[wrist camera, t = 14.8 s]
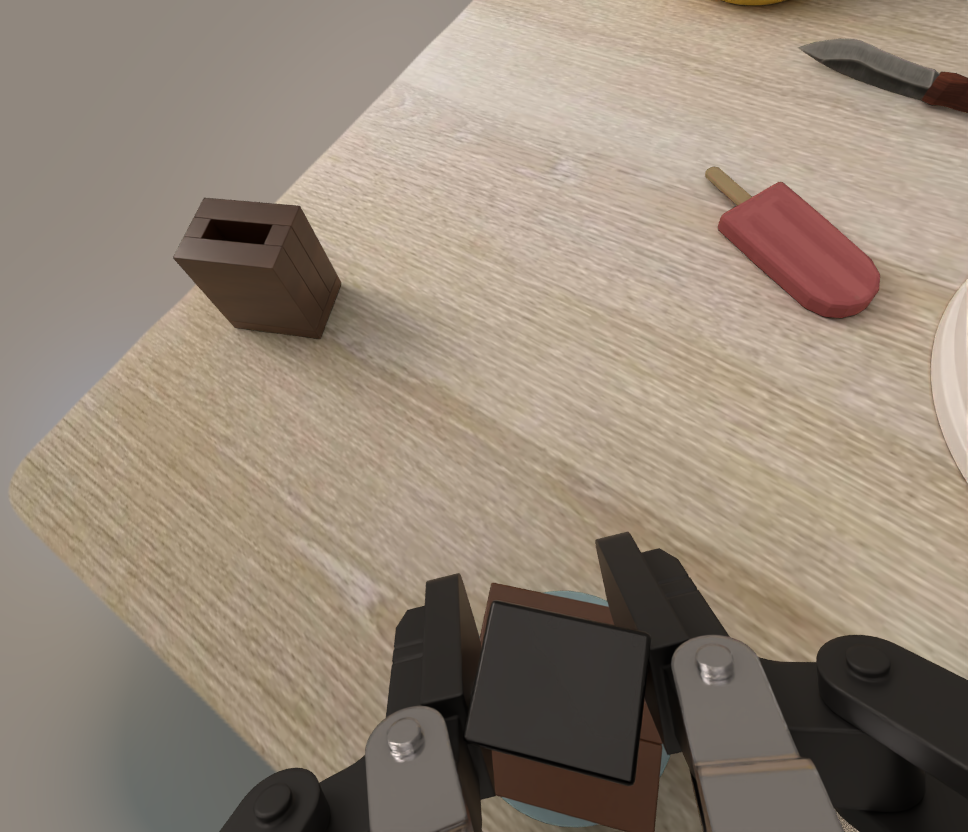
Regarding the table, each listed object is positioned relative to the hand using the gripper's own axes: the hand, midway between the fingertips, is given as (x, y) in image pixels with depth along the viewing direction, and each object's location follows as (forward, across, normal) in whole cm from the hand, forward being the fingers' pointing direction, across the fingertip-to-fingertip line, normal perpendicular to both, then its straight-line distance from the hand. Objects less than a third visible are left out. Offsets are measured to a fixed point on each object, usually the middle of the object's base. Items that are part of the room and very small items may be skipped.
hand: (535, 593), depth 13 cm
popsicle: (+32, -22, 0) cm, 39 cm away
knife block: (+36, +13, -4) cm, 38 cm away
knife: (+39, -37, -7) cm, 54 cm away
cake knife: (+7, 0, +10) cm, 12 cm away
